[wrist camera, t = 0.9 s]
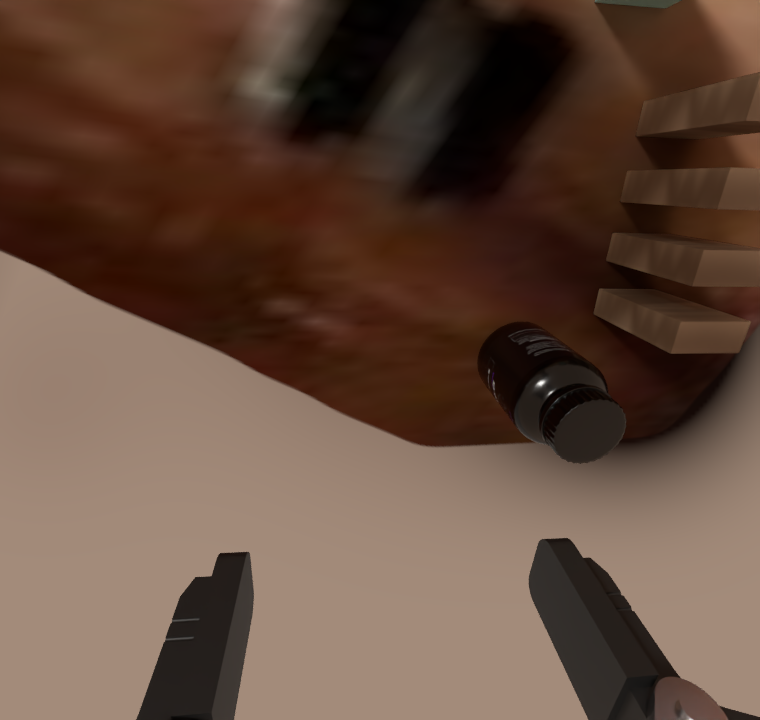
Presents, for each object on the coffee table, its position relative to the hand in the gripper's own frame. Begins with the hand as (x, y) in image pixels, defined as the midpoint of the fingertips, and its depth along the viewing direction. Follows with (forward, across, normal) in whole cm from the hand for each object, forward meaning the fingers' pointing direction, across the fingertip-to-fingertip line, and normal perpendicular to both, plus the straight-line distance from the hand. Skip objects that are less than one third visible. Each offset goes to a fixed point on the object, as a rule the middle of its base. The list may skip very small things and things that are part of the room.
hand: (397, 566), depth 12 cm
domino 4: (+24, -23, -1) cm, 33 cm away
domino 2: (+24, -23, -10) cm, 35 cm away
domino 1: (+24, -23, -14) cm, 36 cm away
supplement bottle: (+24, -14, +4) cm, 28 cm away
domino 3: (+24, -23, -6) cm, 34 cm away
